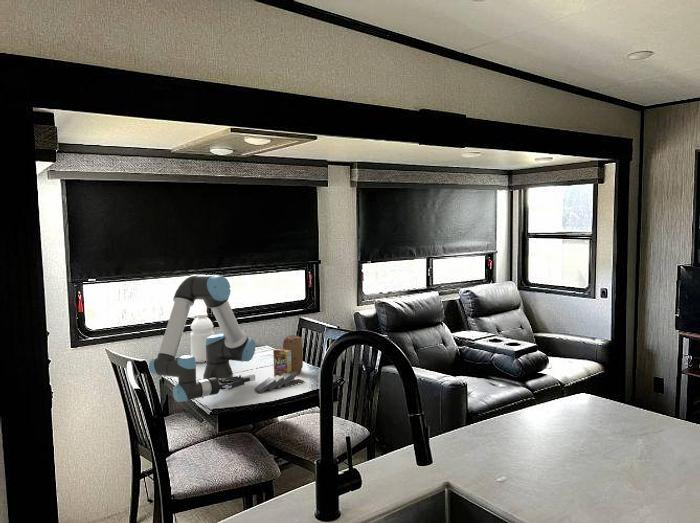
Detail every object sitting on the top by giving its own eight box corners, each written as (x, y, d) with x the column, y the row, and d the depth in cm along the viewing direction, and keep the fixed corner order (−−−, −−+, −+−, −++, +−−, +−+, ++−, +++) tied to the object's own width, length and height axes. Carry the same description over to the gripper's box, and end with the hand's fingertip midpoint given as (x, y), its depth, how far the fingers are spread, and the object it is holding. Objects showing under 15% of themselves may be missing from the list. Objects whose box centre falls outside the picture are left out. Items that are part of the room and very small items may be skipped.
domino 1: (253, 388, 264) (269, 377, 270) (254, 391, 264) (270, 380, 270) (259, 390, 260) (275, 379, 266) (260, 393, 261) (276, 382, 267)
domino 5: (282, 382, 275) (298, 378, 281) (282, 385, 275) (298, 381, 281) (288, 385, 271) (304, 381, 277) (288, 388, 271) (304, 384, 277)
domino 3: (270, 384, 270) (284, 372, 277) (271, 386, 271) (285, 375, 277) (277, 385, 267) (291, 374, 274) (278, 388, 267) (292, 376, 274)
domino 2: (262, 386, 267) (276, 375, 273) (263, 389, 267) (277, 377, 274) (269, 388, 263) (283, 376, 270) (270, 390, 264) (284, 379, 271)
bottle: (195, 356, 332) (194, 311, 330) (217, 356, 332) (216, 311, 330) (187, 362, 318) (186, 315, 316) (211, 362, 318) (209, 315, 316)
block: (304, 373, 295) (303, 336, 293) (293, 375, 290) (292, 338, 288) (292, 369, 303) (291, 333, 301) (281, 371, 298) (280, 335, 296)
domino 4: (277, 381, 273) (290, 370, 281) (278, 384, 274) (291, 373, 281) (284, 383, 270) (297, 371, 277) (285, 385, 271) (298, 374, 278)
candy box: (273, 378, 286) (272, 349, 284) (278, 376, 289) (277, 347, 288) (287, 380, 281) (286, 351, 280) (292, 378, 285) (291, 349, 284)
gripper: (202, 391, 251) (248, 381, 266) (214, 398, 241) (261, 388, 256) (202, 375, 251) (247, 366, 266) (214, 382, 241) (261, 372, 256)
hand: (254, 377), depth 261 cm, fingers closed
